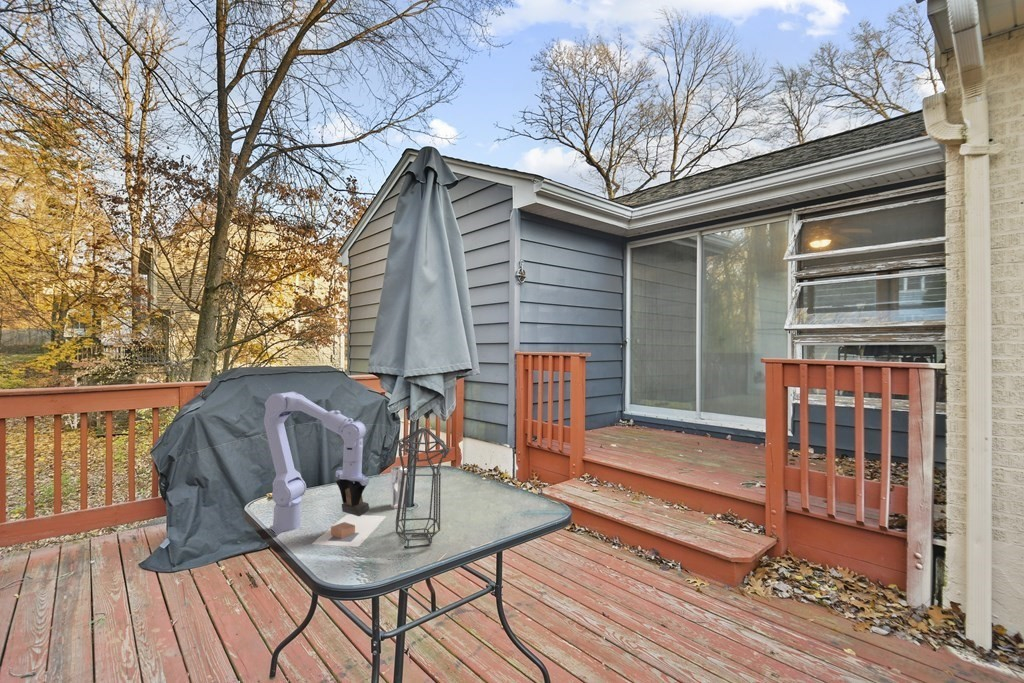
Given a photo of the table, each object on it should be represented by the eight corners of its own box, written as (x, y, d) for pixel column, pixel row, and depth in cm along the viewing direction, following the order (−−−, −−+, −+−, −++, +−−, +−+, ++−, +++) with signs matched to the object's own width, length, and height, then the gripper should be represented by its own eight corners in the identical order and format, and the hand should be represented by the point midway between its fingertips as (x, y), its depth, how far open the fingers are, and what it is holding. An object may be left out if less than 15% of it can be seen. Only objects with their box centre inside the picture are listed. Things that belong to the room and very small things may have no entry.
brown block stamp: (352, 505, 150) (349, 484, 149) (369, 510, 146) (366, 488, 145) (342, 511, 147) (339, 489, 146) (359, 516, 143) (356, 493, 142)
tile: (344, 529, 146) (344, 521, 146) (354, 533, 143) (355, 525, 143) (330, 534, 141) (331, 526, 141) (341, 538, 139) (341, 530, 139)
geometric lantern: (390, 533, 147) (397, 424, 149) (439, 531, 151) (445, 424, 153) (391, 553, 132) (399, 431, 134) (446, 550, 136) (453, 432, 138)
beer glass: (407, 511, 168) (409, 470, 168) (387, 512, 167) (389, 470, 167) (408, 505, 175) (410, 465, 175) (389, 505, 173) (391, 465, 174)
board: (346, 517, 160) (346, 514, 160) (386, 519, 159) (386, 516, 159) (311, 548, 134) (311, 544, 134) (358, 550, 133) (358, 546, 133)
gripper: (327, 458, 146) (325, 501, 146) (355, 466, 138) (353, 512, 137) (347, 455, 152) (345, 496, 151) (375, 462, 143) (373, 506, 143)
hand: (350, 503), depth 145 cm, fingers closed on brown block stamp, 4 cm apart
